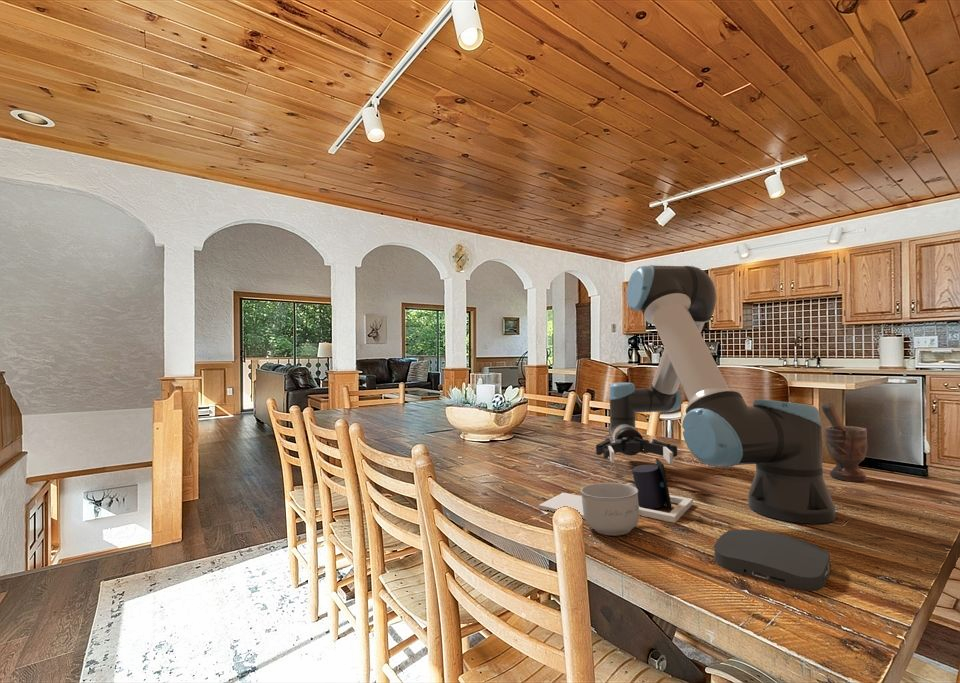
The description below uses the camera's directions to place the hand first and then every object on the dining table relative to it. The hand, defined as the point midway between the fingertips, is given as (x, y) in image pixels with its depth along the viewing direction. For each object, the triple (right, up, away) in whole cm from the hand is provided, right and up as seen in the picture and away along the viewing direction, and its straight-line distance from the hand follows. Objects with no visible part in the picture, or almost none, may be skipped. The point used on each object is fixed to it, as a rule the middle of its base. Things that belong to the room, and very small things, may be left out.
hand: (641, 457), depth 109 cm
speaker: (-1, -8, -10) cm, 13 cm away
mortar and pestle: (+55, -8, +7) cm, 56 cm away
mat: (-19, -9, -9) cm, 22 cm away
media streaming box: (+8, -8, -37) cm, 39 cm away
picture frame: (-1, -8, -10) cm, 13 cm away
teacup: (-13, -8, -21) cm, 26 cm away
